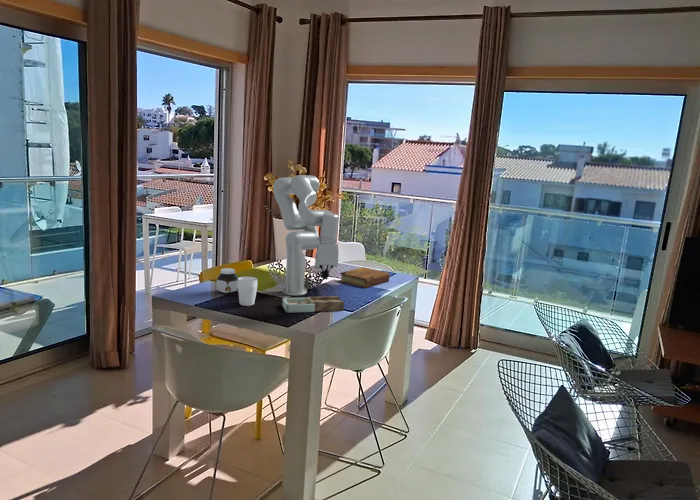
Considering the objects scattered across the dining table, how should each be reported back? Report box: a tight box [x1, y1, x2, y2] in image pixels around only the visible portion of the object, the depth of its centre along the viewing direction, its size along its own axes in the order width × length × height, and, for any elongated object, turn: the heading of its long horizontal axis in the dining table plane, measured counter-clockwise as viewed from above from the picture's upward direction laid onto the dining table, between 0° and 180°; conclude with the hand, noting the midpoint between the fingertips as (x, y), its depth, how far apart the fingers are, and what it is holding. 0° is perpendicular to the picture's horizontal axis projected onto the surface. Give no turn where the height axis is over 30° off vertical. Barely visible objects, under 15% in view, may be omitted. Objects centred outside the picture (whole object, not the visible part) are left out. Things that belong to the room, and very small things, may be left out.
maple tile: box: [301, 296, 314, 304], centre depth 248 cm, size 5×5×2 cm
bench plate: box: [309, 295, 345, 312], centre depth 251 cm, size 14×9×4 cm, turn 107°
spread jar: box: [216, 267, 239, 295], centre depth 266 cm, size 12×11×12 cm
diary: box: [339, 266, 390, 289], centre depth 307 cm, size 23×19×6 cm
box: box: [281, 297, 316, 313], centre depth 247 cm, size 13×11×4 cm
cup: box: [237, 276, 258, 307], centre depth 248 cm, size 9×9×12 cm
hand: (324, 278), depth 250 cm, fingers closed
